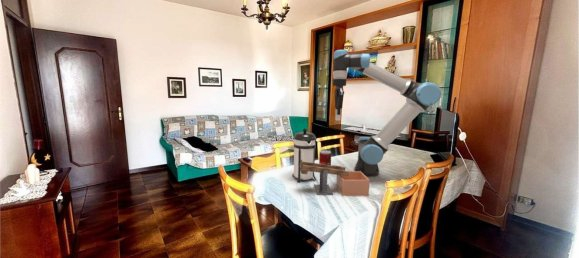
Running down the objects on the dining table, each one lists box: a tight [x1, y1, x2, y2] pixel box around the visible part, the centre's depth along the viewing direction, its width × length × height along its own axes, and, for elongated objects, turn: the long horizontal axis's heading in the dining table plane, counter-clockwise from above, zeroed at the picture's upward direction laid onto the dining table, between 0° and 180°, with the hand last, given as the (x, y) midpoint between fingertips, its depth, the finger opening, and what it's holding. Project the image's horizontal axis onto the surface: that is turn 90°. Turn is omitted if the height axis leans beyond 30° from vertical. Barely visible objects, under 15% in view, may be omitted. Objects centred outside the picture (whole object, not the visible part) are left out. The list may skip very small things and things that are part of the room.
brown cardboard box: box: [335, 170, 371, 197], centre depth 124 cm, size 13×13×8 cm
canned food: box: [318, 149, 332, 165], centre depth 161 cm, size 8×8×11 cm
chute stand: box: [313, 170, 334, 196], centre depth 123 cm, size 8×11×13 cm
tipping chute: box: [300, 159, 350, 176], centre depth 125 cm, size 24×13×6 cm, turn 92°
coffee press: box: [291, 127, 317, 183], centre depth 139 cm, size 17×16×30 cm
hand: (337, 120), depth 139 cm, fingers closed
